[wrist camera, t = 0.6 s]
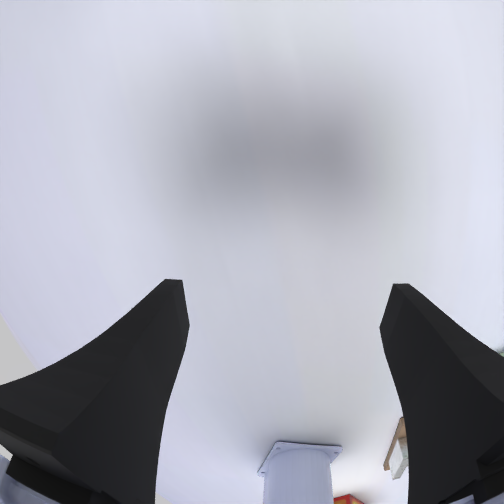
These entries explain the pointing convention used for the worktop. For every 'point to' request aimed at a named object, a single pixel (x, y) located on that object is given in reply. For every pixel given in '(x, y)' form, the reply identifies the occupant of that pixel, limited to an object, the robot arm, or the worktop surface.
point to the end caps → (399, 458)
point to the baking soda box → (346, 500)
